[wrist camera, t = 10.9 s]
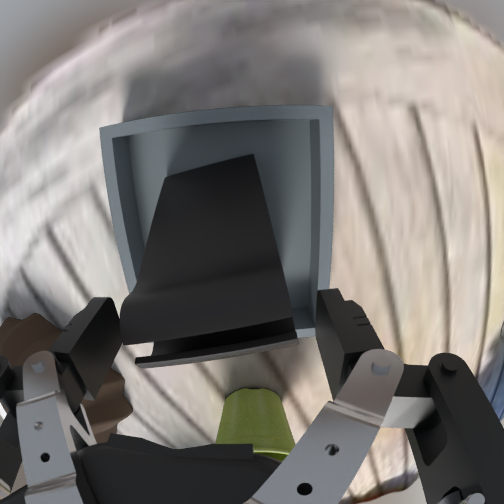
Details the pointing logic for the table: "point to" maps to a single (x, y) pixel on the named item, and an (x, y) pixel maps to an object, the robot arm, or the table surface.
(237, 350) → the phone stand
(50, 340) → the decorative dome
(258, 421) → the plant pot
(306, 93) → the table surface
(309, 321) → the tray
